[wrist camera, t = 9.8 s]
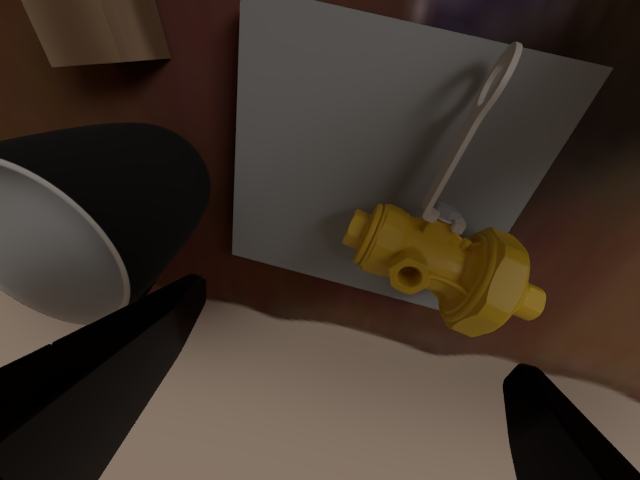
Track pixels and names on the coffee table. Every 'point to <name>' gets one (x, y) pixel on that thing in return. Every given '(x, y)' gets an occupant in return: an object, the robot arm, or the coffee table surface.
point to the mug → (95, 215)
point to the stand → (382, 130)
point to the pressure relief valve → (452, 243)
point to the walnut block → (97, 31)
